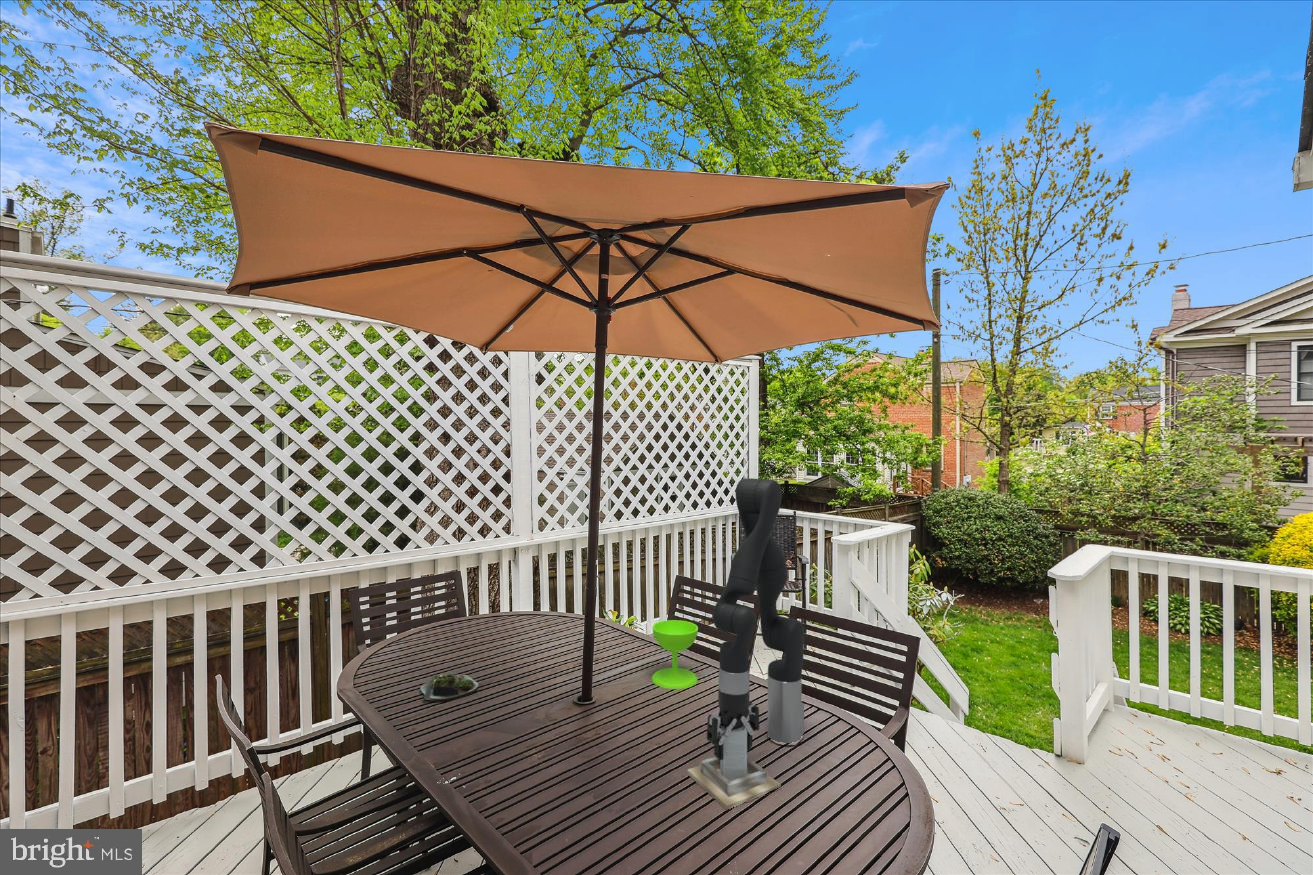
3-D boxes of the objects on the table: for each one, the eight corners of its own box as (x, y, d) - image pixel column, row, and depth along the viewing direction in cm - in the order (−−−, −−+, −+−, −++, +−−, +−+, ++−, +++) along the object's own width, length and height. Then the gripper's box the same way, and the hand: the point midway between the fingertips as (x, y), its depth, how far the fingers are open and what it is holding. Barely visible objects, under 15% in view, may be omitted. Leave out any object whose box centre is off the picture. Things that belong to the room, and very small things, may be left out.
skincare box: (743, 771, 137) (744, 722, 137) (747, 781, 133) (747, 731, 133) (719, 771, 137) (719, 722, 137) (722, 782, 133) (722, 731, 133)
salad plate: (409, 687, 186) (409, 673, 186) (462, 673, 197) (462, 660, 197) (427, 708, 171) (427, 693, 171) (483, 693, 182) (484, 678, 182)
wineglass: (699, 689, 186) (699, 635, 186) (651, 688, 186) (651, 634, 186) (696, 670, 202) (697, 620, 202) (652, 669, 202) (652, 619, 202)
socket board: (738, 756, 146) (738, 742, 146) (780, 788, 132) (780, 773, 132) (687, 773, 138) (687, 759, 138) (726, 810, 124) (727, 794, 124)
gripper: (746, 675, 142) (746, 739, 142) (700, 686, 135) (700, 754, 135) (766, 686, 136) (766, 753, 135) (719, 699, 128) (718, 769, 128)
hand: (733, 753), depth 135 cm, fingers open, 8 cm apart
